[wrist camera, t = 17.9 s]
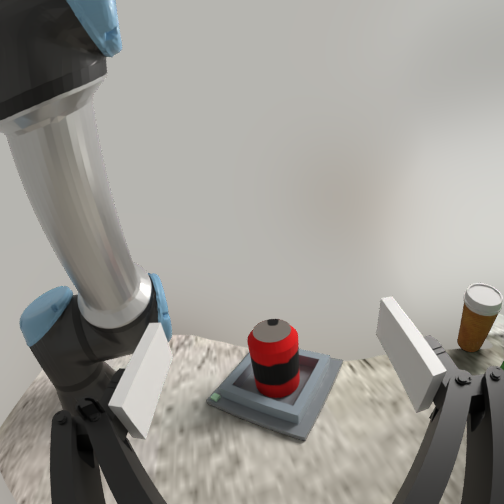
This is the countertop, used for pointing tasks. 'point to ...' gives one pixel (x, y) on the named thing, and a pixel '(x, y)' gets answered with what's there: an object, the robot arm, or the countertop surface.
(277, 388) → the soda can
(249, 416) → the dock
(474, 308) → the disposable coffee cup
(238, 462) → the countertop surface
